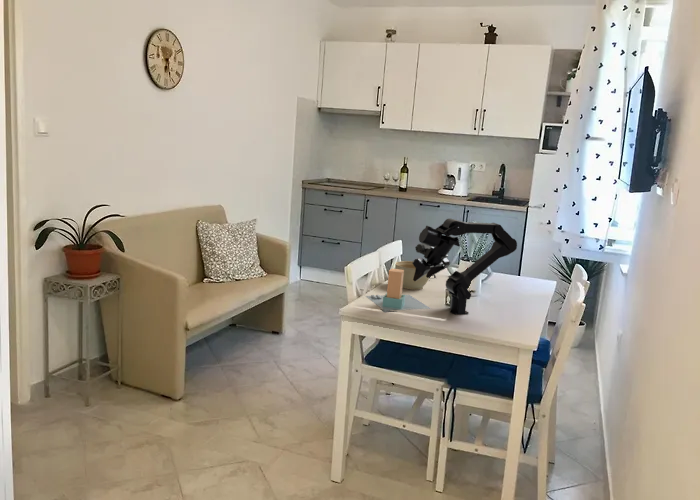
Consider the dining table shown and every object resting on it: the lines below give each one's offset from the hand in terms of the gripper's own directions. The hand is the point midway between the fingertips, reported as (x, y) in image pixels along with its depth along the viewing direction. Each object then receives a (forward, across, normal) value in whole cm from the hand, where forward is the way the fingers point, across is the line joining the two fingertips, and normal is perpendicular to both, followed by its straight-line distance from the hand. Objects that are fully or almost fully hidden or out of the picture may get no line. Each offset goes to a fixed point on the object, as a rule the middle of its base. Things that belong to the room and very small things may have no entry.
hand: (420, 278), depth 242 cm
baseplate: (+13, +4, 0) cm, 14 cm away
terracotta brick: (+9, +9, -1) cm, 13 cm away
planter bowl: (+19, -22, -9) cm, 31 cm away
